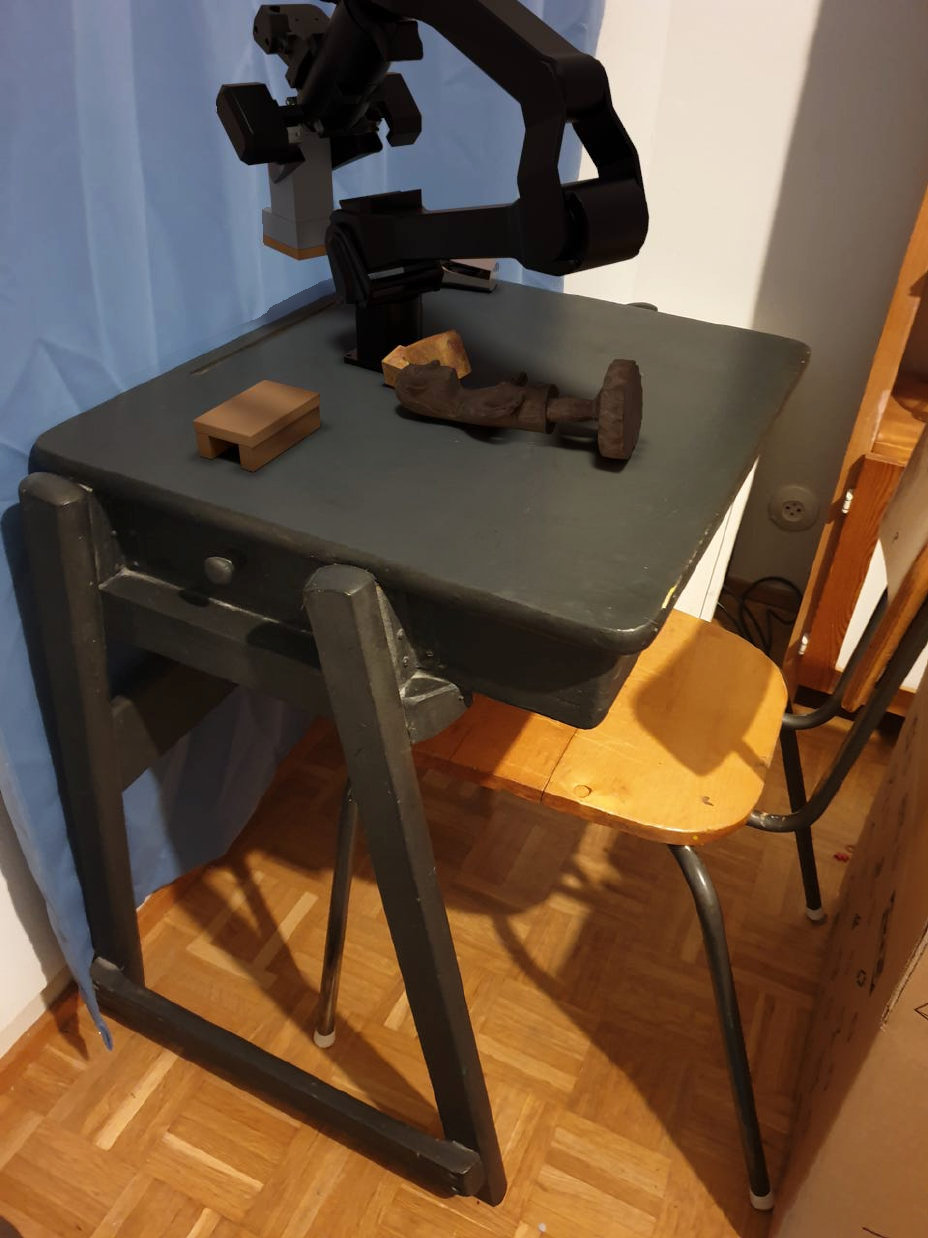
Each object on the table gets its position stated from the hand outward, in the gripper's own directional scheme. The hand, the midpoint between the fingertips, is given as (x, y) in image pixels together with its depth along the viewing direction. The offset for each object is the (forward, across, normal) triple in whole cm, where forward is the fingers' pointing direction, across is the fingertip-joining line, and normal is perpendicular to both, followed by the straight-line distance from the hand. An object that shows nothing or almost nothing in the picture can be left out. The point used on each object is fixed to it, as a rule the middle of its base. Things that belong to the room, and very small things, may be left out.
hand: (294, 175), depth 89 cm
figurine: (-23, -4, +37) cm, 43 cm away
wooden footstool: (-6, +18, +26) cm, 32 cm away
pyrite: (-6, 0, +22) cm, 23 cm away
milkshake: (+4, -22, +12) cm, 25 cm away
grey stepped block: (+5, 0, +4) cm, 7 cm away
